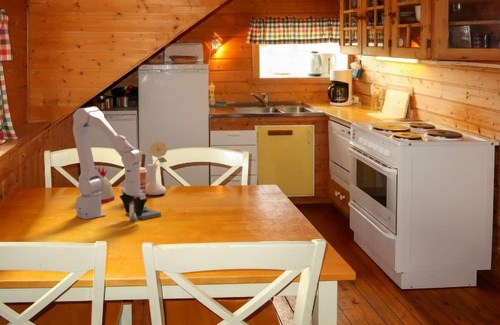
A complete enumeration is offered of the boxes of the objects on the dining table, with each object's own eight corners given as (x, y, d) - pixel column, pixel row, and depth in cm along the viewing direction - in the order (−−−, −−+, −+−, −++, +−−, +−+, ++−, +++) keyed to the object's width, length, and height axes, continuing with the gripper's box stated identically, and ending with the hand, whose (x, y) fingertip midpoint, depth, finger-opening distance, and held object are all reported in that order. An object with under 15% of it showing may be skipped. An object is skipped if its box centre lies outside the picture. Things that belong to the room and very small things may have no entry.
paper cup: (138, 202, 305) (137, 170, 302) (126, 199, 310) (125, 168, 307) (151, 198, 311) (150, 168, 309) (139, 196, 316) (138, 166, 313)
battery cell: (132, 222, 272) (132, 203, 271) (128, 220, 275) (127, 201, 273) (139, 220, 274) (139, 201, 273) (135, 219, 277) (134, 200, 275)
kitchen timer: (110, 203, 302) (109, 169, 299) (79, 203, 302) (77, 169, 300) (117, 196, 316) (116, 164, 313) (87, 196, 316) (85, 163, 313)
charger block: (142, 219, 275) (142, 214, 275) (126, 214, 284) (125, 208, 284) (161, 216, 281) (160, 210, 281) (144, 210, 290) (144, 205, 290)
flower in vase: (137, 196, 316) (135, 141, 312) (147, 190, 327) (146, 138, 322) (163, 198, 313) (162, 143, 308) (173, 192, 323) (172, 139, 319)
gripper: (151, 181, 269) (152, 215, 271) (131, 176, 280) (132, 209, 282) (136, 184, 264) (137, 218, 267) (116, 178, 275) (117, 211, 277)
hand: (133, 214), depth 274 cm, fingers open, 7 cm apart
